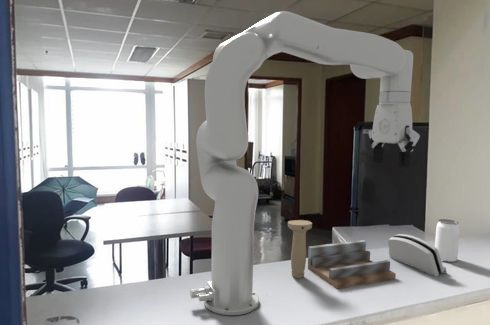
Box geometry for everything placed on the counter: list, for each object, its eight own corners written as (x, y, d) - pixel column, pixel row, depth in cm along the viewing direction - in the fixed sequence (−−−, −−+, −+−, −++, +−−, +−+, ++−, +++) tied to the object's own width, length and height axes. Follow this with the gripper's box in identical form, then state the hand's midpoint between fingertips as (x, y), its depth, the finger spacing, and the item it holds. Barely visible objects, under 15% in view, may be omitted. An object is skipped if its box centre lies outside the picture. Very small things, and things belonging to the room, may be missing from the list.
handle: (312, 279, 103) (314, 224, 101) (289, 280, 102) (291, 225, 100) (305, 272, 108) (308, 219, 106) (283, 273, 106) (285, 220, 104)
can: (461, 262, 117) (464, 224, 116) (439, 262, 118) (443, 224, 116) (450, 255, 124) (453, 219, 123) (430, 254, 124) (433, 218, 123)
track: (336, 288, 97) (337, 264, 97) (307, 268, 110) (308, 246, 109) (395, 278, 104) (397, 255, 104) (361, 260, 117) (363, 240, 117)
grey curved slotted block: (448, 273, 109) (443, 242, 106) (437, 281, 107) (431, 250, 104) (400, 254, 124) (394, 227, 121) (389, 261, 122) (384, 233, 119)
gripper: (361, 100, 107) (357, 161, 109) (408, 97, 91) (403, 169, 93) (382, 101, 110) (378, 161, 111) (432, 98, 94) (427, 168, 96)
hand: (390, 164), depth 102 cm, fingers open, 9 cm apart
